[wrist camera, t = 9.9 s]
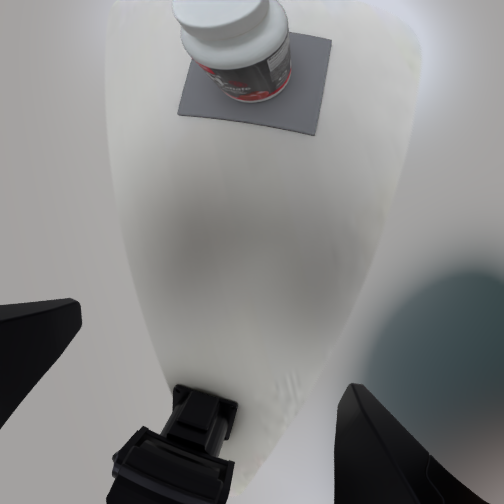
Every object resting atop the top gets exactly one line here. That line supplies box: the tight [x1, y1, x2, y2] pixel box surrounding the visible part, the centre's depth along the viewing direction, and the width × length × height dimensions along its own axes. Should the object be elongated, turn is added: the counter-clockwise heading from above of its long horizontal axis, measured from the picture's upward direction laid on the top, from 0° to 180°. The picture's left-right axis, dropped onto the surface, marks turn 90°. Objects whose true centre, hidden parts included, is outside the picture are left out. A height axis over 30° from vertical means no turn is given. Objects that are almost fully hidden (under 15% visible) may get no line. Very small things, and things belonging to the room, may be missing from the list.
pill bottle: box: [172, 0, 291, 103], centre depth 12 cm, size 5×5×10 cm
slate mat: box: [177, 32, 332, 136], centre depth 17 cm, size 8×10×1 cm
